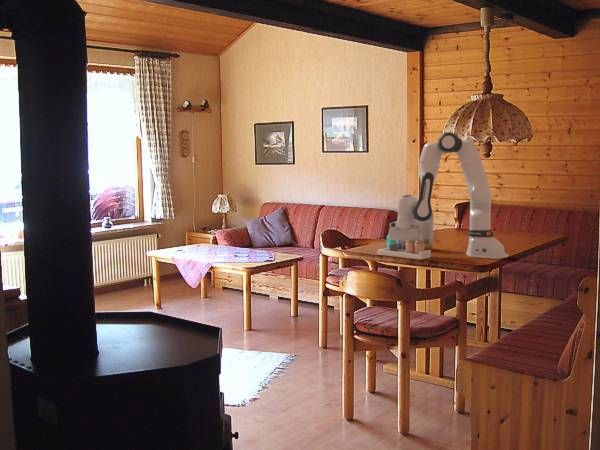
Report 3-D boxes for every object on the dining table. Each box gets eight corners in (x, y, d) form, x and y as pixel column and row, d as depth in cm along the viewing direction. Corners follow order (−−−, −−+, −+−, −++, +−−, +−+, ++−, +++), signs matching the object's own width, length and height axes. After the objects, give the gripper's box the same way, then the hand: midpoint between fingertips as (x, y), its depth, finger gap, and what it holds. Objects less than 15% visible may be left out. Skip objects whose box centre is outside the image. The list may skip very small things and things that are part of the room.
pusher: (403, 252, 394) (403, 242, 394) (391, 255, 386) (391, 244, 385) (400, 252, 395) (400, 242, 395) (388, 254, 387) (388, 244, 387)
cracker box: (433, 248, 410) (433, 212, 408) (431, 250, 405) (432, 213, 402) (409, 247, 415) (409, 212, 413) (407, 249, 409) (407, 213, 407)
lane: (430, 257, 378) (430, 250, 378) (421, 259, 371) (421, 252, 371) (387, 252, 398) (387, 245, 397) (377, 254, 391) (377, 247, 390)
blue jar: (407, 250, 402) (407, 235, 401) (402, 251, 399) (402, 236, 398) (399, 250, 406) (399, 234, 405) (394, 251, 402) (394, 235, 401)
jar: (417, 256, 381) (417, 240, 380) (411, 257, 378) (412, 241, 377) (409, 255, 385) (409, 239, 384) (403, 256, 381) (403, 240, 380)
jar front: (426, 257, 378) (426, 241, 377) (420, 258, 374) (420, 242, 373) (417, 256, 381) (418, 240, 380) (412, 257, 377) (412, 241, 376)
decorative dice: (399, 246, 419) (399, 233, 419) (403, 248, 412) (403, 235, 411) (386, 247, 418) (386, 233, 417) (390, 249, 410) (390, 235, 410)
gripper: (424, 225, 385) (424, 250, 387) (393, 222, 399) (393, 246, 400) (418, 226, 380) (417, 251, 382) (387, 223, 394) (387, 248, 396)
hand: (405, 249), depth 391 cm, fingers closed
